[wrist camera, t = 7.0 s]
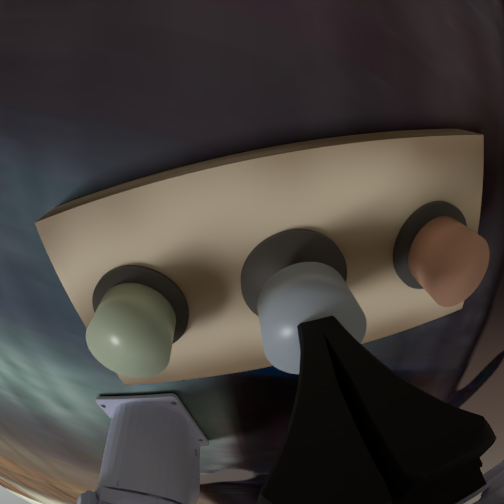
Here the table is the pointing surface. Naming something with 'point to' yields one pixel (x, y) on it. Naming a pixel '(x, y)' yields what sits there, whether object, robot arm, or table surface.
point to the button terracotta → (448, 260)
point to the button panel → (268, 236)
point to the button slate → (303, 309)
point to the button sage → (132, 331)
